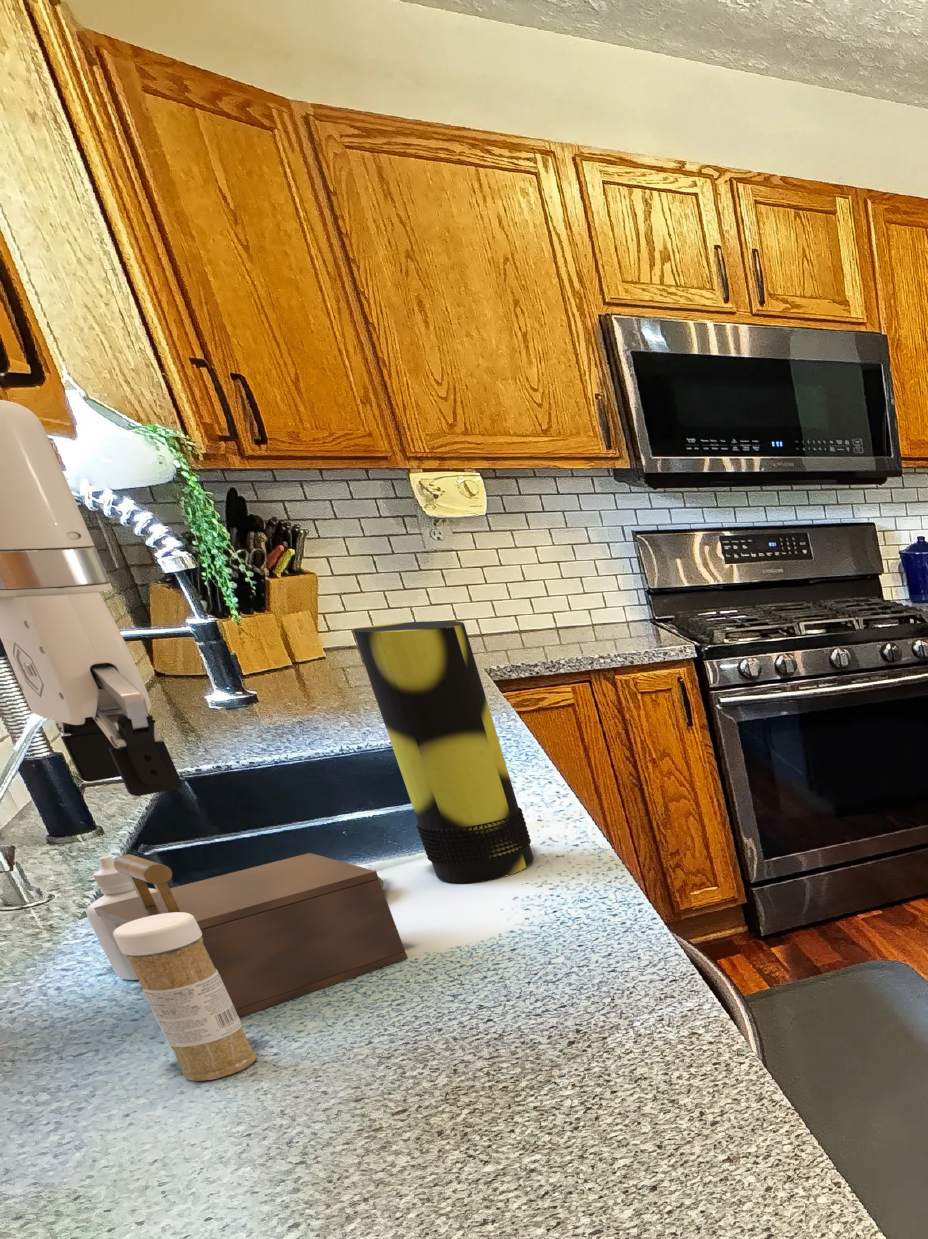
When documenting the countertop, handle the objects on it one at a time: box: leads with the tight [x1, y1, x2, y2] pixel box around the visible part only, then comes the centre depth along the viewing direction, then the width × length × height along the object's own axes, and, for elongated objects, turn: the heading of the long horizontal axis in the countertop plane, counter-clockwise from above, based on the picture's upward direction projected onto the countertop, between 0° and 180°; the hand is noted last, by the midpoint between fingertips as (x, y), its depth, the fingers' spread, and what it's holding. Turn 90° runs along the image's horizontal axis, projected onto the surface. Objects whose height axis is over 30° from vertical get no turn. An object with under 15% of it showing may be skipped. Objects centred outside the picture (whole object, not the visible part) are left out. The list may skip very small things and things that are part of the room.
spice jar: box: [113, 912, 257, 1082], centre depth 80 cm, size 5×5×14 cm
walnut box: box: [114, 879, 409, 1019], centre depth 96 cm, size 16×13×9 cm
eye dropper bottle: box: [85, 855, 157, 981], centre depth 97 cm, size 4×6×12 cm
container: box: [352, 620, 535, 884], centre depth 120 cm, size 11×11×30 cm
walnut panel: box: [94, 852, 379, 929], centre depth 93 cm, size 16×13×6 cm
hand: (132, 784), depth 84 cm, fingers open, 9 cm apart
